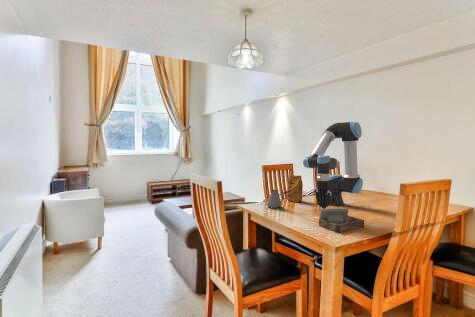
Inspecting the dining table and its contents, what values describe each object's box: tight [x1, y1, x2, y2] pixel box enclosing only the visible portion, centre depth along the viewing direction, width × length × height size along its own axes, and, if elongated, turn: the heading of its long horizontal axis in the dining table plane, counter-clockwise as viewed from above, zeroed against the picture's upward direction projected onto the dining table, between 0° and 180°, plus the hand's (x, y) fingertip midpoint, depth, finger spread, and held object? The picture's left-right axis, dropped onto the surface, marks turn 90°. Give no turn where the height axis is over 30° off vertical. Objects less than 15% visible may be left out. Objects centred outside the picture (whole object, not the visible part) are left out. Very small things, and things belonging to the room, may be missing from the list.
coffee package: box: [286, 174, 304, 203], centre depth 216 cm, size 10×12×22 cm
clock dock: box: [318, 215, 365, 234], centre depth 149 cm, size 14×22×4 cm, turn 118°
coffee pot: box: [266, 189, 293, 209], centre depth 191 cm, size 21×12×15 cm, turn 46°
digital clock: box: [318, 207, 349, 225], centre depth 150 cm, size 16×9×11 cm, turn 78°
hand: (322, 216), depth 162 cm, fingers closed
